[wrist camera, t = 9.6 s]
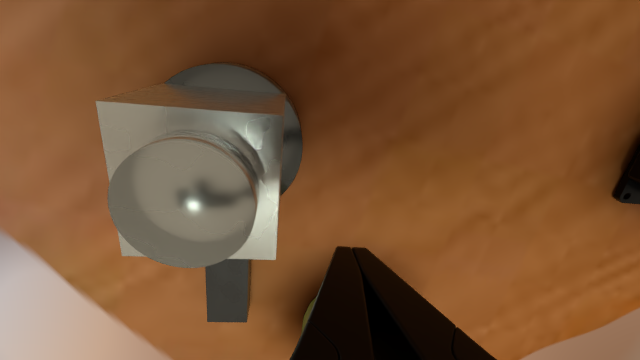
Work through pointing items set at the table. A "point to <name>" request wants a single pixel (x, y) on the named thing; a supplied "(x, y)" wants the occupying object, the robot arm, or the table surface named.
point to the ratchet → (234, 274)
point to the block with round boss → (194, 172)
